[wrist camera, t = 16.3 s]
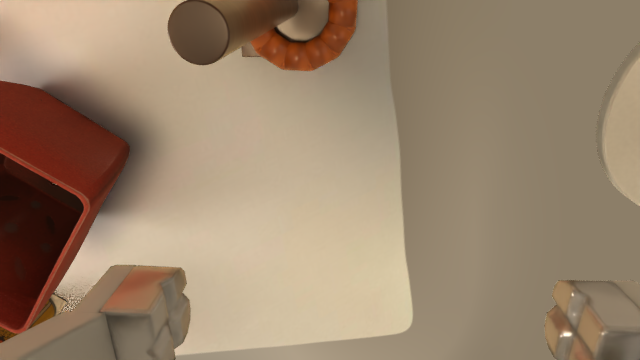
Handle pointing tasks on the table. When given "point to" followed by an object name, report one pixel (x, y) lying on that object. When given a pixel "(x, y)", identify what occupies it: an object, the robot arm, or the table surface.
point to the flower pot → (46, 194)
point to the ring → (311, 41)
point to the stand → (240, 25)
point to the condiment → (47, 312)
